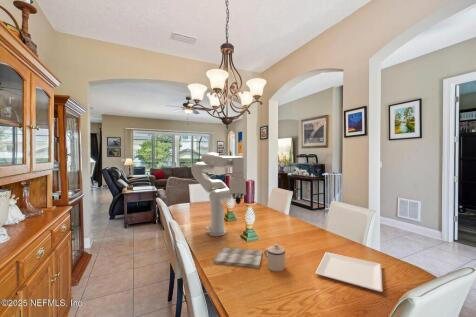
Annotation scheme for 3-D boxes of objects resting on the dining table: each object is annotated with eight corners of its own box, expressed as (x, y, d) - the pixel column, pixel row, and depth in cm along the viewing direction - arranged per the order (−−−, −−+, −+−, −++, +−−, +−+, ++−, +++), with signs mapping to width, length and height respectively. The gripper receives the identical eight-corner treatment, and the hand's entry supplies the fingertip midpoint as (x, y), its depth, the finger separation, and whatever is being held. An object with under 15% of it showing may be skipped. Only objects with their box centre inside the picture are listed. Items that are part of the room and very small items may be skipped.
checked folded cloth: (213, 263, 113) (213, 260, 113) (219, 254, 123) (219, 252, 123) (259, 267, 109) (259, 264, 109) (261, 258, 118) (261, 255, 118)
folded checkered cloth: (219, 254, 124) (219, 251, 124) (222, 249, 129) (222, 247, 129) (261, 258, 119) (261, 255, 119) (262, 253, 125) (262, 250, 124)
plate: (382, 296, 87) (382, 291, 87) (315, 277, 101) (315, 272, 101) (381, 267, 109) (381, 263, 109) (325, 255, 123) (325, 251, 123)
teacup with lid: (289, 267, 109) (288, 244, 109) (278, 274, 103) (277, 249, 103) (270, 259, 118) (270, 237, 118) (259, 264, 112) (258, 242, 111)
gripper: (225, 175, 139) (225, 204, 139) (248, 176, 136) (248, 205, 136) (228, 174, 146) (228, 201, 147) (250, 175, 143) (250, 202, 143)
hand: (238, 203), depth 141 cm, fingers closed
